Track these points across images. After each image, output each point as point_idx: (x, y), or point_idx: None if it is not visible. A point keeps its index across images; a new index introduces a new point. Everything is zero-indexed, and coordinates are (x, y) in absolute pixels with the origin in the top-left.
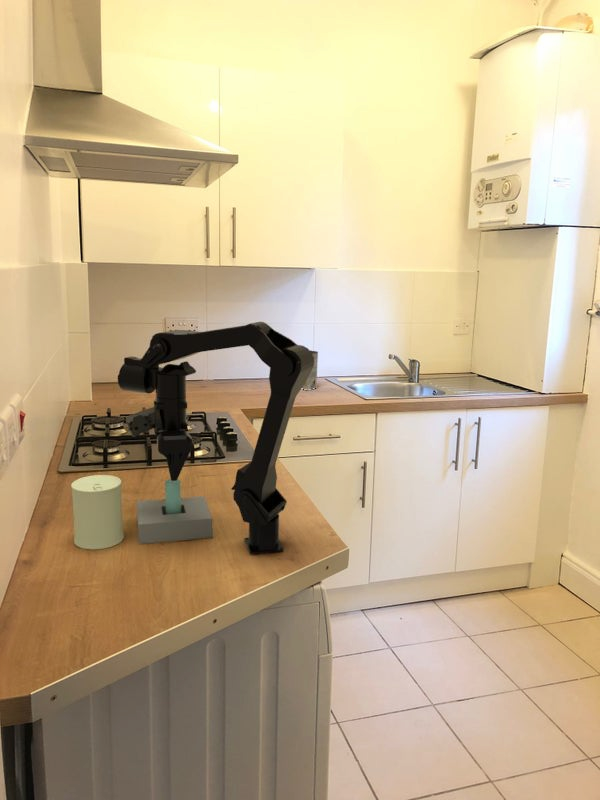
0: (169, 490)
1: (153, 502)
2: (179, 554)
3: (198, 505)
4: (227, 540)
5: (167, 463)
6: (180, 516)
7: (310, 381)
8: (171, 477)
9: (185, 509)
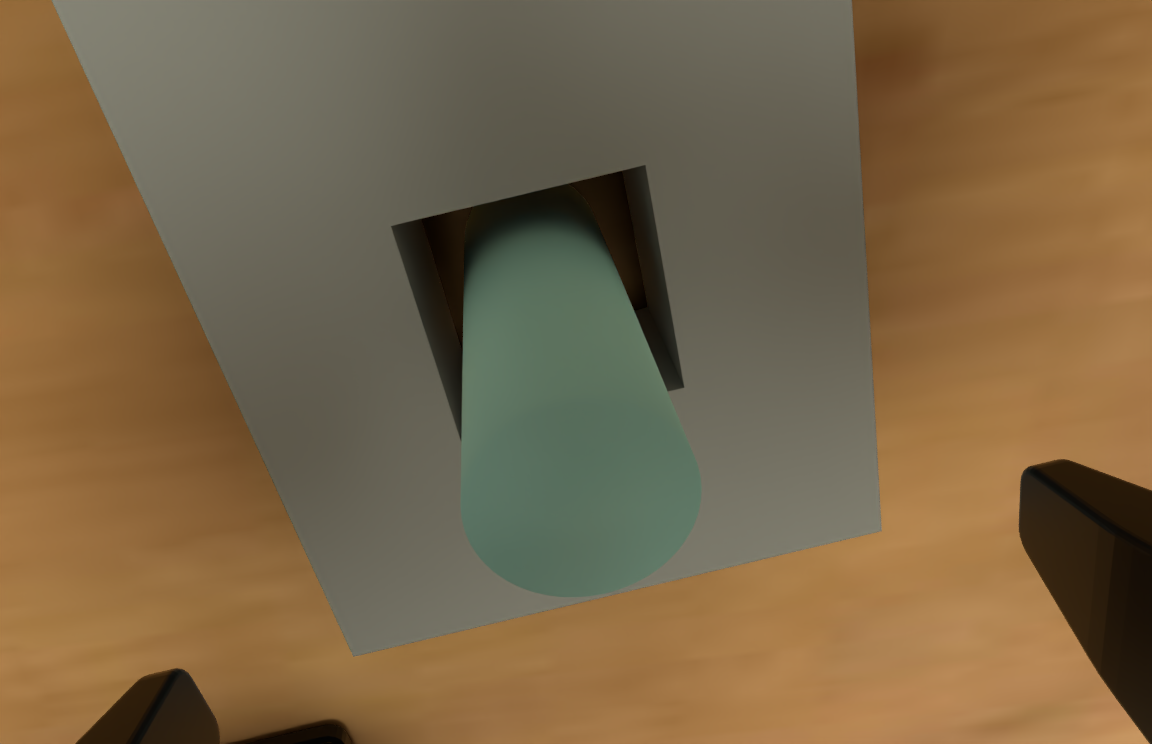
0: (468, 419)
1: (773, 45)
2: (18, 367)
3: None
4: (335, 632)
5: (1047, 482)
6: (364, 409)
7: None
8: (94, 738)
9: None
